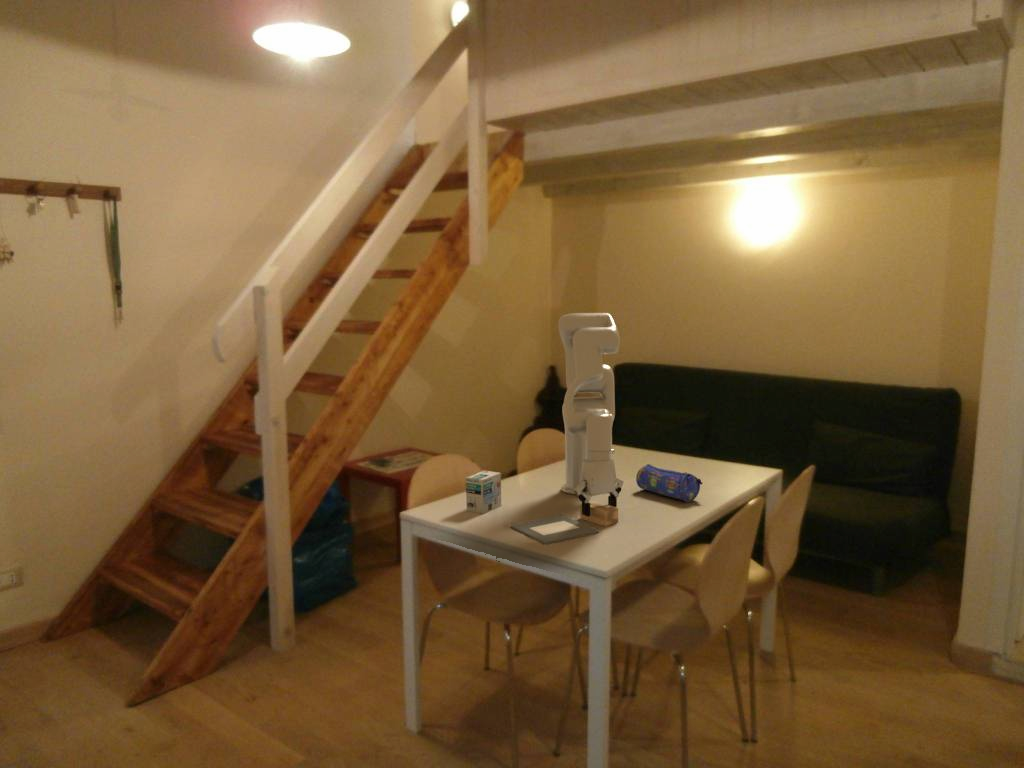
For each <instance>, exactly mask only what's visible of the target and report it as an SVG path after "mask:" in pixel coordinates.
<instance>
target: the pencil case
mask: <svg viewBox="0 0 1024 768" xmlns="http://www.w3.org/2000/svg"><path fill="white" fill-rule="evenodd" d="M635 477H636V479H635V481H636V485H637V486H638V488H640V489H642V490H644V491H648V492H652V493H655V494H658V495H661V496H666V497H668V498H673V499H676V500H680V501H684V502H685V503H687V504H688V503H693V501H694V500H695V499H696V498H697V496H698V495H699V493H700V489H701V485H703V482H702V480H701V478H698V477H697V476H695V475H693V474H692V473H689V472H686V471H685V472H681V471H676V470H672V469H671V470H670V469H664V468H658V467H655V466H654V465H652V464H646V465H643V466H642V467H641V468H639V470H638V471H637V474H636V476H635Z"/></svg>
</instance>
